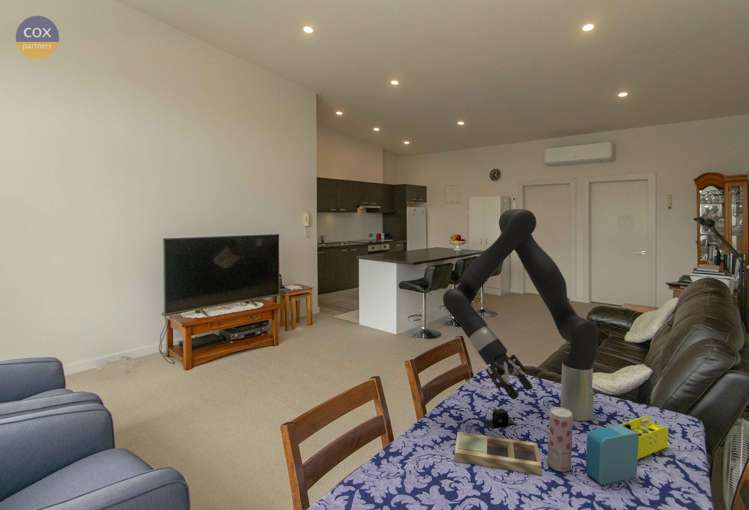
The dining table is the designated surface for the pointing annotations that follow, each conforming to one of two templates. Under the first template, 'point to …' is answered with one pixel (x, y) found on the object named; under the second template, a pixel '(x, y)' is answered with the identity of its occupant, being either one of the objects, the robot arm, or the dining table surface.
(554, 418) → the beverage can
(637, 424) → the yellow toy chassis
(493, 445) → the board
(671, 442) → the dining table surface
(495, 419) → the black open box
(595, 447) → the data package
